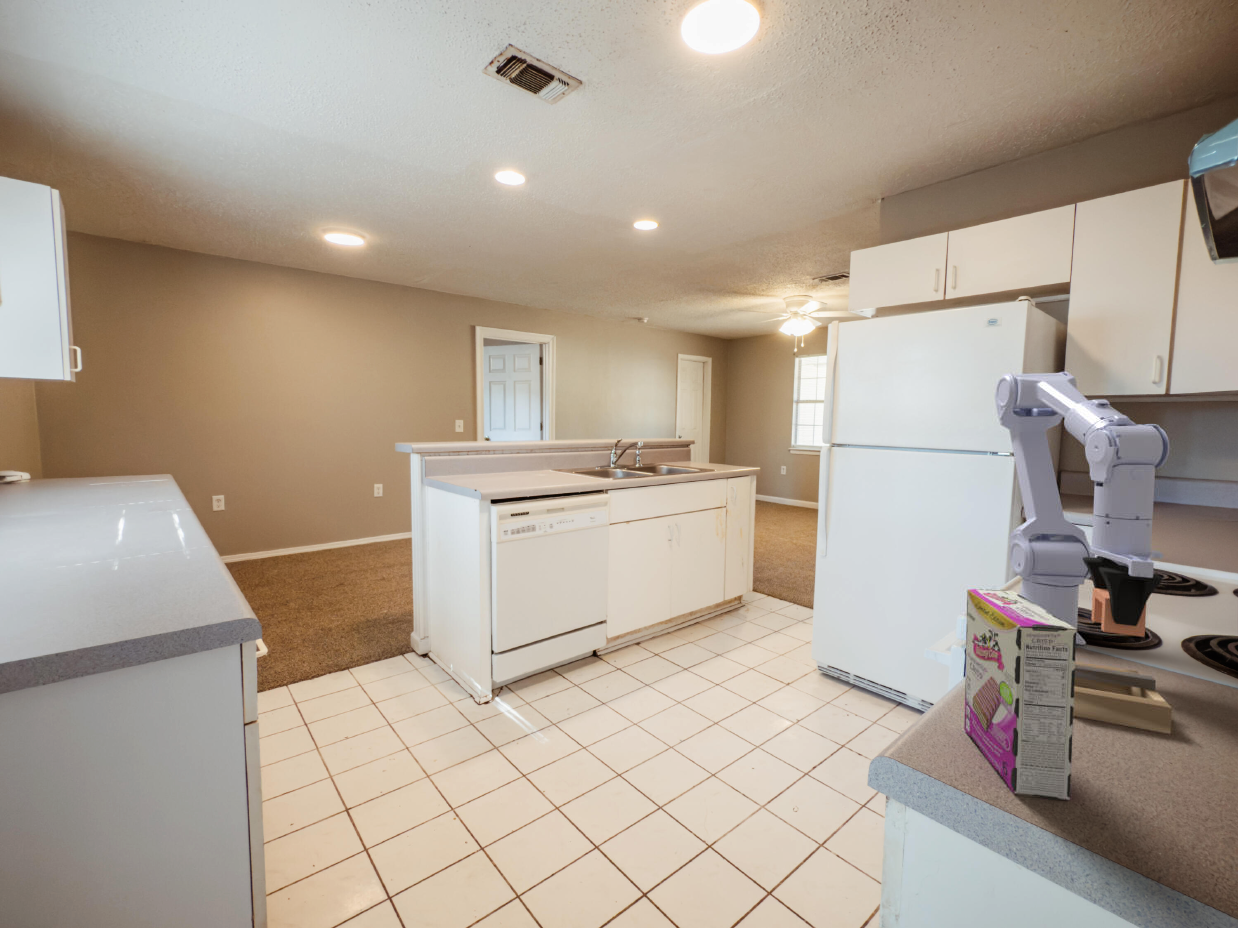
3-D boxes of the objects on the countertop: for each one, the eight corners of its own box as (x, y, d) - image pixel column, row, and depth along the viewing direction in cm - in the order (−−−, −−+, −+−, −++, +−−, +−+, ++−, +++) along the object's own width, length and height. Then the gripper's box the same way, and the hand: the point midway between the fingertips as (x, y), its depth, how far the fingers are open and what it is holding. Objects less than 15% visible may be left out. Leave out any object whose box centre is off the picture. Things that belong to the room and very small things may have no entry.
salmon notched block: (1091, 619, 75) (1092, 587, 74) (1129, 624, 73) (1131, 591, 73) (1103, 631, 70) (1105, 597, 70) (1144, 636, 68) (1146, 602, 68)
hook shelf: (1046, 679, 72) (1047, 648, 72) (1135, 693, 68) (1137, 661, 68) (1066, 714, 63) (1068, 680, 63) (1170, 733, 59) (1172, 697, 59)
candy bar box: (960, 729, 60) (964, 587, 59) (1009, 734, 59) (1015, 589, 58) (1011, 796, 49) (1018, 623, 48) (1073, 803, 48) (1081, 627, 47)
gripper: (1190, 527, 62) (1184, 641, 63) (1140, 510, 75) (1135, 605, 76) (1111, 523, 66) (1106, 631, 66) (1076, 507, 78) (1072, 598, 79)
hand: (1117, 617), depth 71 cm, fingers closed on salmon notched block, 5 cm apart
